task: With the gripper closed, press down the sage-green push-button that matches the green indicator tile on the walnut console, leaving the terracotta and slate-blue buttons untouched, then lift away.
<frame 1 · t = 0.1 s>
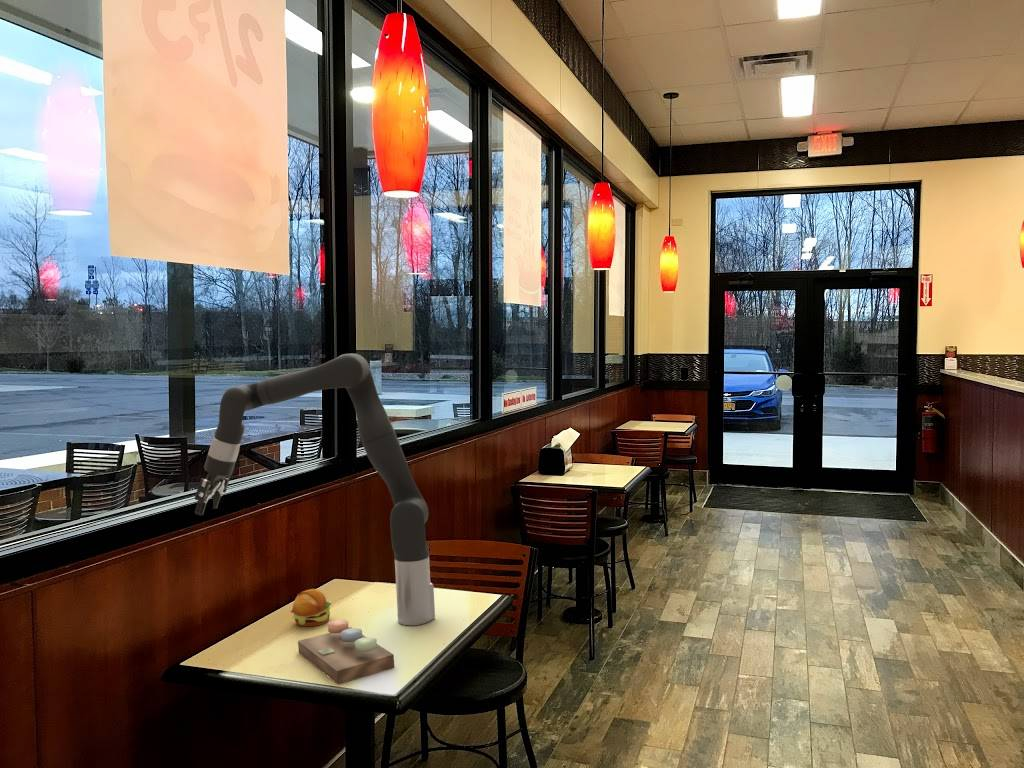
hand: (205, 511, 222), 31 cm above the table, fingers open, 8 cm apart
button terracotta: (338, 626, 201), point 5 cm above the table, slide at 0.0 cm
button sage: (365, 644, 187), point 5 cm above the table, slide at 0.0 cm
console: (345, 659, 193), on the table
button slate: (351, 635, 194), point 5 cm above the table, slide at 0.0 cm
cheeseburger: (312, 623, 221), on the table
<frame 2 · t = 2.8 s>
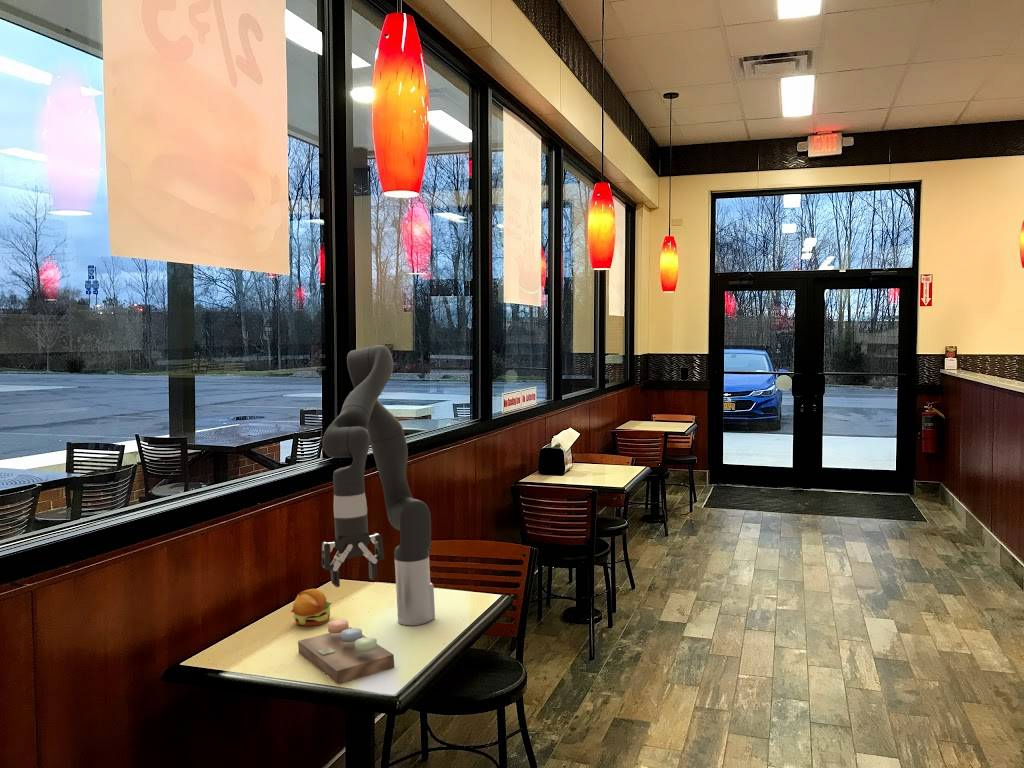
hand: (354, 582, 186), 20 cm above the table, fingers open, 8 cm apart
nothing on the table moved.
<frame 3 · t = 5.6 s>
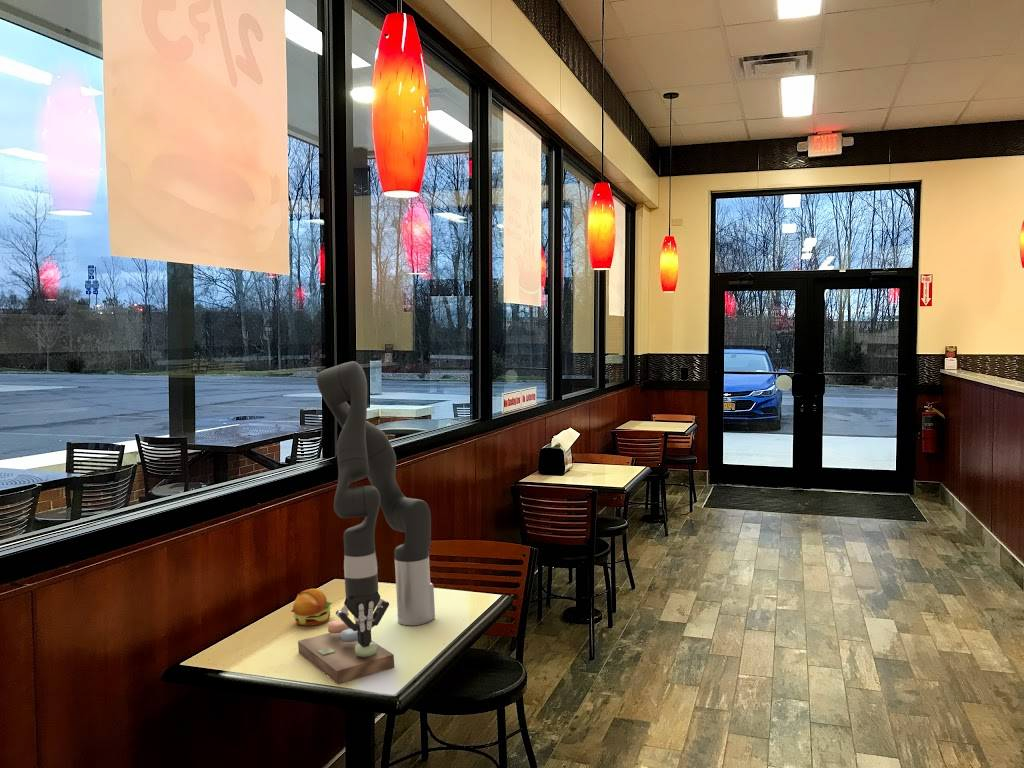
hand: (364, 645, 187), 5 cm above the table, fingers closed
button sage: (366, 649, 188), point 4 cm above the table, slide at 1.1 cm, touching gripper
everything else where it was.
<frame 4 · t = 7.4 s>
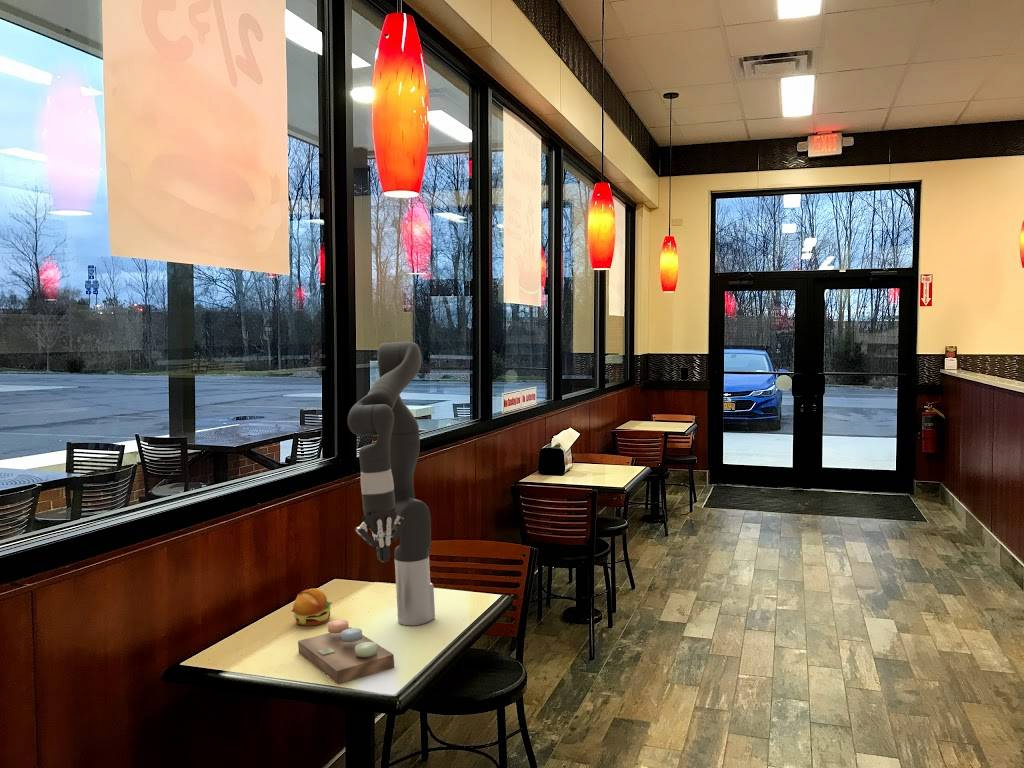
hand: (384, 561, 190), 24 cm above the table, fingers closed
button sage: (366, 649, 188), point 4 cm above the table, slide at 1.1 cm
everything else where it was.
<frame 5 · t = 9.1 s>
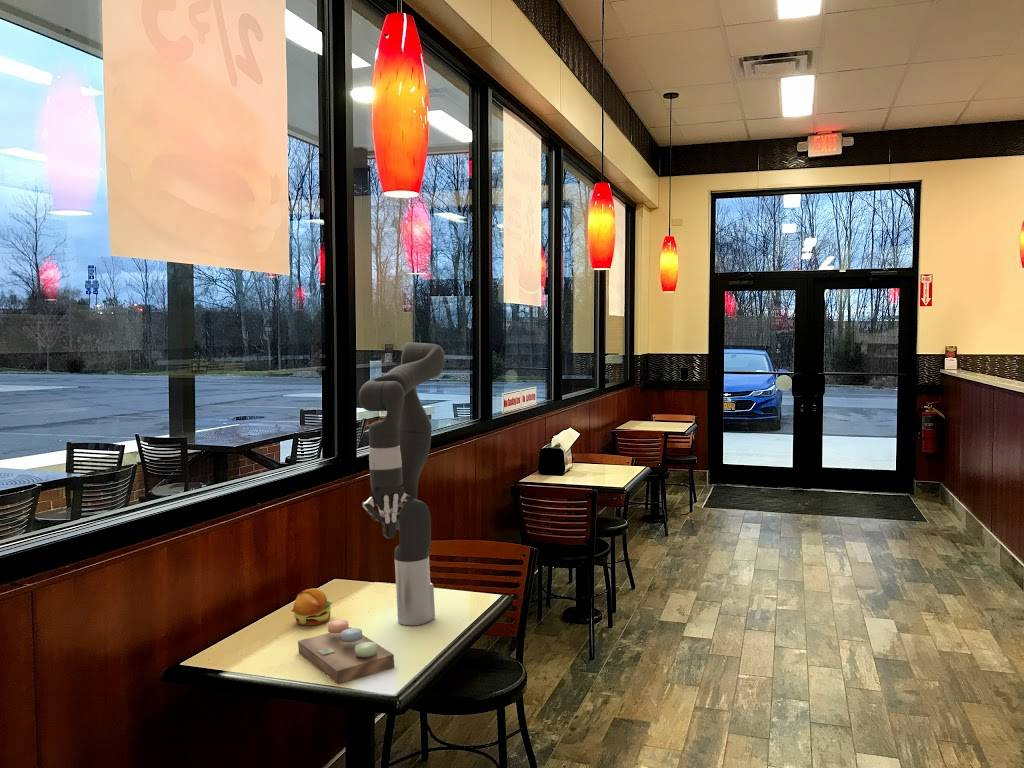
hand: (389, 537, 192), 29 cm above the table, fingers closed
nothing on the table moved.
at the end: button sage slide at 1.1 cm; button terracotta slide at 0.0 cm; button slate slide at 0.0 cm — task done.
